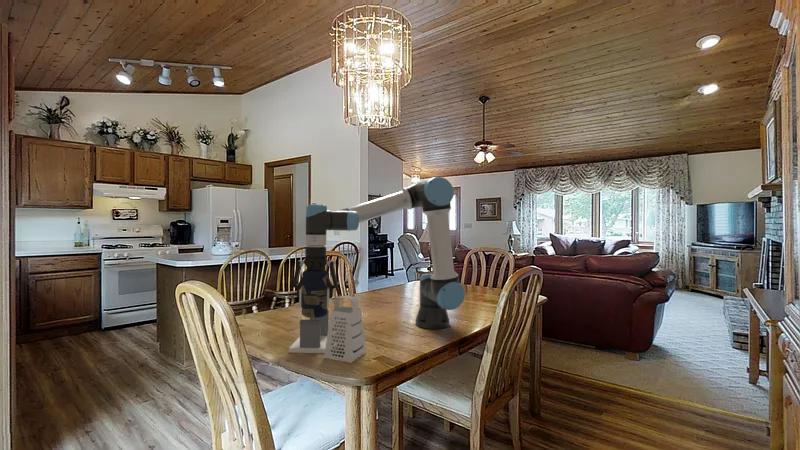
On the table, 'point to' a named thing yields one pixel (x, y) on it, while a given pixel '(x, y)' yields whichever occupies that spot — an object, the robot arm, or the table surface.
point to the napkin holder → (312, 336)
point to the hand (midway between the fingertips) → (314, 306)
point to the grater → (345, 332)
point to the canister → (314, 293)
